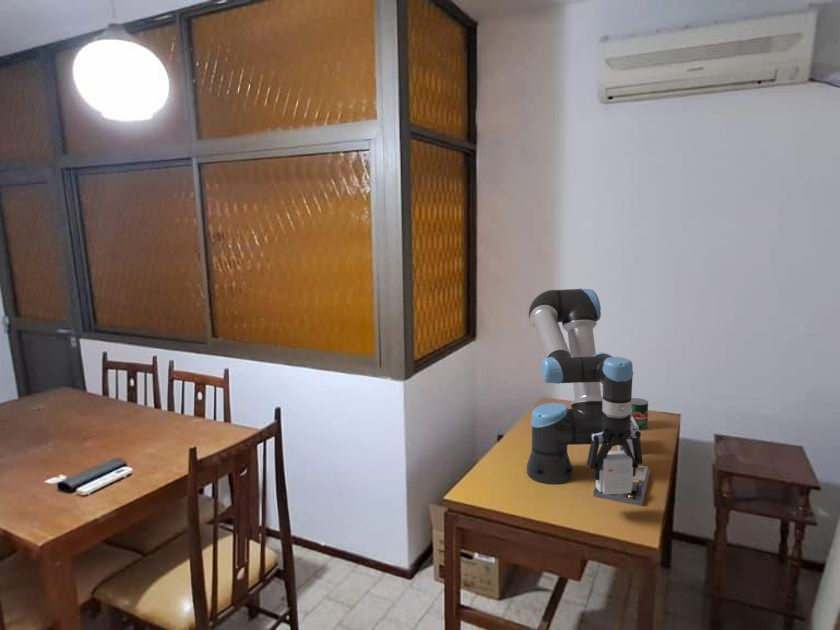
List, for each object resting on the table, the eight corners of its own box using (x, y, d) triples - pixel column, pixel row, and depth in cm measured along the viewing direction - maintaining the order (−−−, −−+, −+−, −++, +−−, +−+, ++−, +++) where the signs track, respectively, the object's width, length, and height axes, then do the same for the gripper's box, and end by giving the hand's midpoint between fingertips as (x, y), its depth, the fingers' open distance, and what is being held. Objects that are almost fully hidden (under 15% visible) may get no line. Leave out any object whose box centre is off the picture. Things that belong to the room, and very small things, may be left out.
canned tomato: (633, 422, 220) (634, 396, 218) (651, 427, 214) (652, 401, 212) (622, 426, 216) (623, 400, 214) (640, 432, 209) (640, 405, 207)
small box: (623, 483, 155) (624, 449, 153) (631, 493, 149) (633, 458, 147) (596, 484, 155) (597, 451, 153) (603, 495, 149) (604, 460, 147)
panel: (642, 506, 157) (642, 493, 156) (593, 496, 163) (593, 484, 163) (649, 473, 176) (650, 462, 175) (605, 466, 182) (605, 455, 182)
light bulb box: (638, 455, 190) (639, 426, 188) (618, 454, 191) (619, 426, 189) (633, 443, 200) (633, 415, 198) (614, 442, 201) (614, 415, 199)
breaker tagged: (636, 490, 159) (636, 484, 159) (625, 488, 160) (625, 482, 160) (638, 486, 165) (639, 480, 165) (628, 484, 166) (628, 478, 166)
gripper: (585, 421, 143) (584, 498, 147) (659, 415, 145) (655, 490, 149) (574, 411, 150) (573, 484, 154) (645, 405, 152) (641, 477, 157)
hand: (613, 487), depth 152 cm, fingers closed on small box, 8 cm apart
